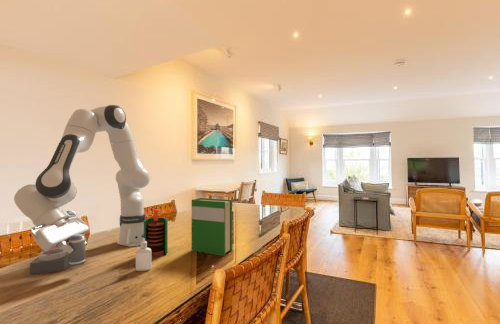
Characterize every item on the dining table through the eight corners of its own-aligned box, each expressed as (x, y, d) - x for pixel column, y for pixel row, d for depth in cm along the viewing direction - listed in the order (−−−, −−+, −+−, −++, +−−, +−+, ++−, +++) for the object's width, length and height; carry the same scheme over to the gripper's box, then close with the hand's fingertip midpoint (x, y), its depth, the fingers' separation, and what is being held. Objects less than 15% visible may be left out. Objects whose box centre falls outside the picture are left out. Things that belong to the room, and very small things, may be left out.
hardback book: (232, 251, 124) (232, 199, 124) (224, 256, 117) (224, 201, 117) (200, 246, 131) (200, 197, 131) (191, 250, 124) (191, 199, 124)
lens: (87, 259, 100) (86, 232, 100) (83, 264, 95) (82, 236, 95) (71, 261, 98) (71, 234, 98) (66, 266, 94) (66, 237, 93)
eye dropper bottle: (145, 272, 100) (145, 240, 100) (133, 270, 102) (133, 239, 102) (153, 268, 104) (153, 237, 104) (142, 266, 106) (142, 236, 106)
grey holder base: (73, 260, 113) (73, 245, 113) (64, 270, 102) (64, 253, 102) (42, 263, 109) (42, 248, 109) (29, 274, 99) (29, 257, 99)
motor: (144, 259, 114) (144, 212, 114) (142, 252, 122) (142, 209, 122) (169, 255, 119) (168, 210, 119) (165, 249, 126) (165, 207, 126)
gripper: (33, 222, 87) (63, 252, 86) (77, 210, 107) (101, 234, 107) (20, 236, 87) (50, 265, 86) (66, 221, 107) (90, 245, 107)
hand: (78, 248), depth 97 cm, fingers closed on lens, 5 cm apart
